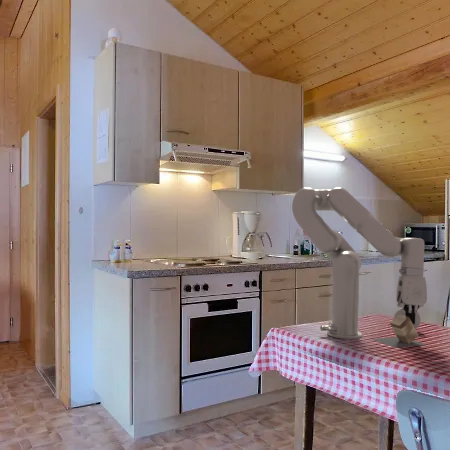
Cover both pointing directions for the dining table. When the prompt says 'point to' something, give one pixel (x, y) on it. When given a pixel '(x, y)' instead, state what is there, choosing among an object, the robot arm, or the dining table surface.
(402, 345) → the mat
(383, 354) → the dining table surface
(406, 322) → the tall block
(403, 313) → the donut
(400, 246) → the robot arm
